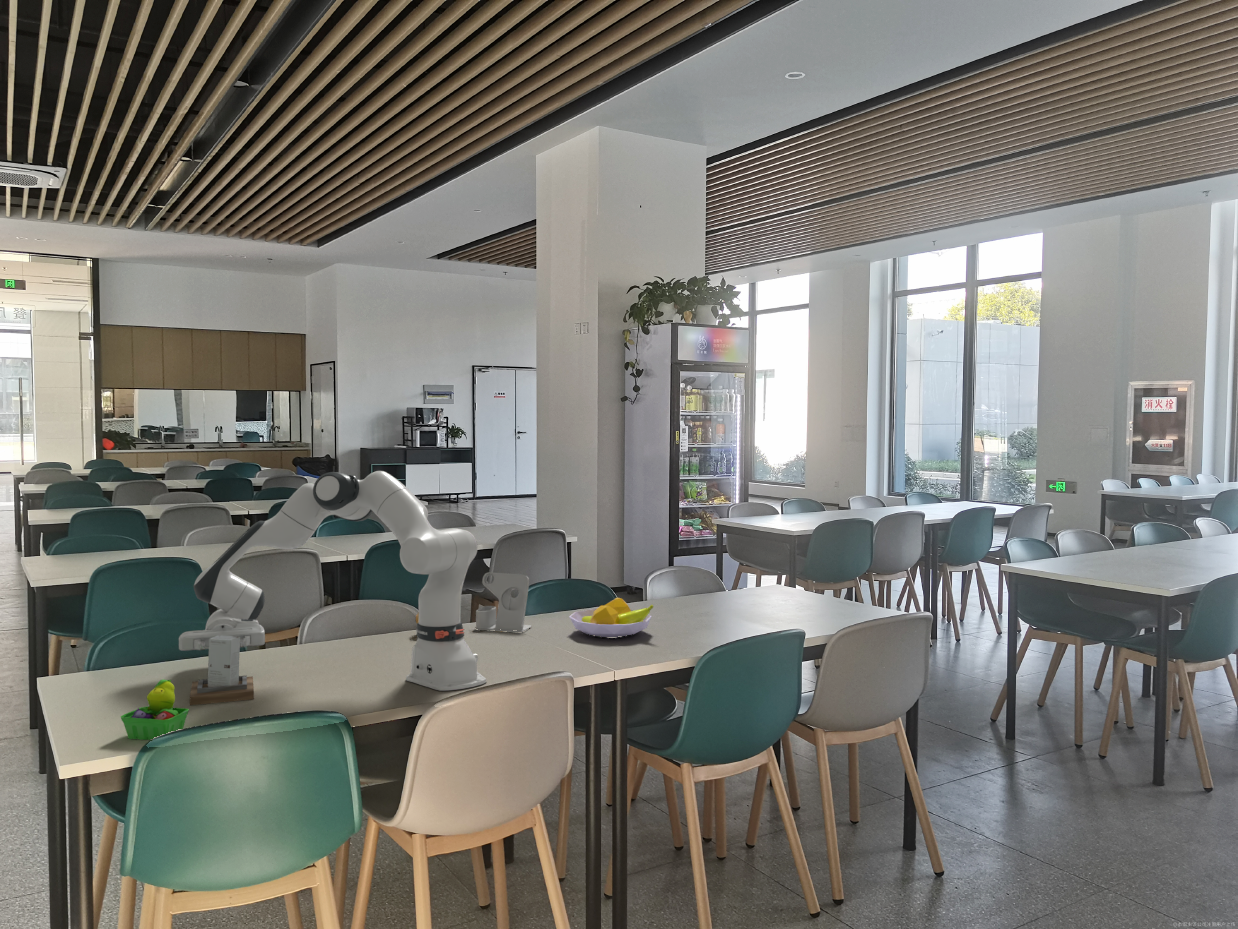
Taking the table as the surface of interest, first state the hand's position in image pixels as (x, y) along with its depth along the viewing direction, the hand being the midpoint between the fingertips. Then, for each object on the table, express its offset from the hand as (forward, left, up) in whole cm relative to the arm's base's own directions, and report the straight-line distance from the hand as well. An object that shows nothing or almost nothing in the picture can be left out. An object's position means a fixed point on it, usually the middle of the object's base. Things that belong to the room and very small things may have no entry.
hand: (222, 645), depth 224 cm
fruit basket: (-27, +20, -11) cm, 36 cm away
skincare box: (-4, +1, -9) cm, 10 cm away
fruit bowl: (-7, -118, -11) cm, 119 cm away
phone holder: (+21, -93, -11) cm, 96 cm away
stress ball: (+26, -70, -11) cm, 75 cm away
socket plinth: (-4, +1, -11) cm, 12 cm away
